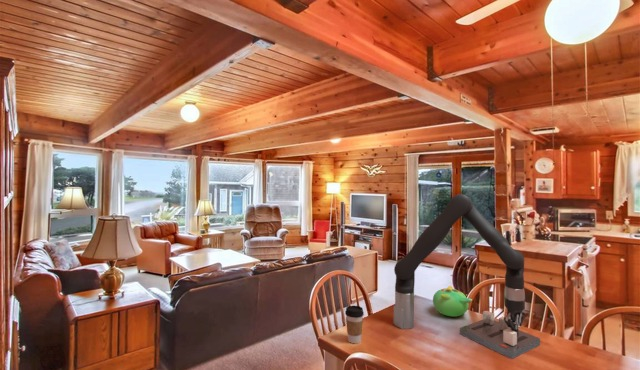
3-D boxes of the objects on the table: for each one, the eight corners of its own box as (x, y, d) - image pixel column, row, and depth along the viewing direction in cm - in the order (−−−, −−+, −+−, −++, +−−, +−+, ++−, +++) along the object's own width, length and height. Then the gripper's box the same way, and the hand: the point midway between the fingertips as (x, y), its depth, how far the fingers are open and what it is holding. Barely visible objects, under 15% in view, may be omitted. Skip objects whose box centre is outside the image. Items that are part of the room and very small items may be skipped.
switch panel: (511, 359, 127) (512, 338, 127) (459, 334, 148) (460, 316, 148) (540, 345, 138) (540, 326, 138) (488, 323, 159) (488, 307, 159)
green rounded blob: (462, 309, 176) (462, 283, 176) (474, 323, 160) (474, 294, 159) (429, 308, 178) (429, 282, 178) (437, 321, 161) (437, 293, 161)
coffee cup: (341, 340, 142) (341, 308, 142) (352, 334, 148) (352, 302, 148) (356, 347, 136) (356, 313, 136) (367, 340, 143) (367, 307, 142)
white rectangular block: (512, 346, 131) (512, 334, 131) (503, 341, 134) (503, 330, 134) (516, 344, 132) (516, 332, 132) (507, 340, 136) (507, 328, 136)
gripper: (514, 291, 142) (514, 329, 142) (497, 297, 135) (497, 336, 136) (532, 296, 135) (532, 336, 136) (514, 303, 129) (515, 344, 129)
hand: (514, 336), depth 136 cm, fingers closed
